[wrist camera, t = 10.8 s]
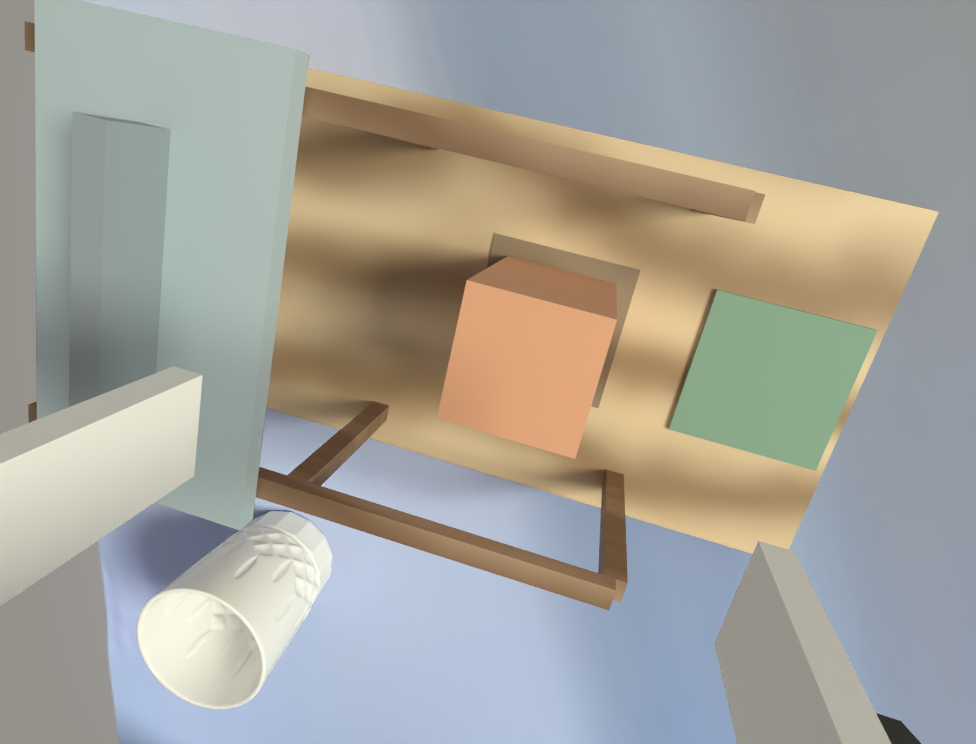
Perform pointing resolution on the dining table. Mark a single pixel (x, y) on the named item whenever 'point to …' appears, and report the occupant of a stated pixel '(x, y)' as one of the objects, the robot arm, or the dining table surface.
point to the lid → (164, 223)
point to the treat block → (529, 354)
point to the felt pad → (770, 378)
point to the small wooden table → (566, 246)
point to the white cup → (235, 611)
